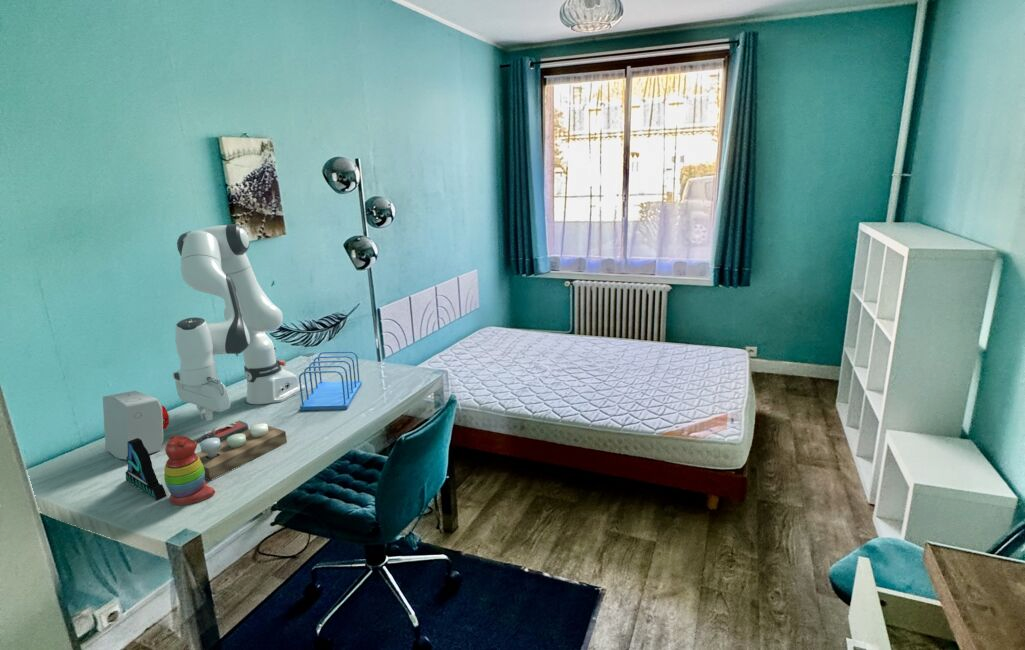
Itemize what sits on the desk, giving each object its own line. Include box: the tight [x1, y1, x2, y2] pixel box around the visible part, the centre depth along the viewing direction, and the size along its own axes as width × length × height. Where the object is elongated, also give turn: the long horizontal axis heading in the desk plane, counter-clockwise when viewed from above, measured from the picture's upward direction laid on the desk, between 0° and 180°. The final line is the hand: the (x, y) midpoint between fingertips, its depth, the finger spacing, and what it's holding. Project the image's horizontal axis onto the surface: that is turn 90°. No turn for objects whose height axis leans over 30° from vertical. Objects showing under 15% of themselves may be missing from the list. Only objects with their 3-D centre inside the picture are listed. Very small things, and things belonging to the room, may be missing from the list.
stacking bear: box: [163, 434, 216, 506], centre depth 145 cm, size 11×10×18 cm
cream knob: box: [249, 422, 269, 437], centre depth 174 cm, size 5×5×5 cm
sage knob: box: [227, 434, 246, 448], centre depth 167 cm, size 5×5×5 cm
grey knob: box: [199, 438, 221, 459], centre depth 160 cm, size 5×5×5 cm
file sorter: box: [298, 350, 363, 411], centre depth 210 cm, size 25×17×15 cm
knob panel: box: [195, 425, 288, 481], centre depth 168 cm, size 26×12×4 cm, turn 150°
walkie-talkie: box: [193, 420, 250, 442], centre depth 179 cm, size 9×4×20 cm
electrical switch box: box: [102, 390, 170, 461], centre depth 173 cm, size 15×15×20 cm
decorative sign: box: [125, 438, 167, 502], centre depth 150 cm, size 19×2×15 cm, turn 56°
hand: (207, 419), depth 157 cm, fingers closed
